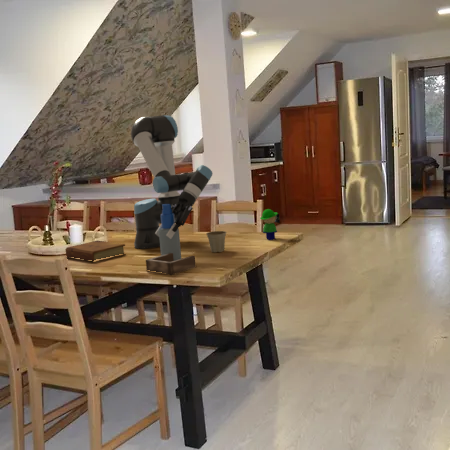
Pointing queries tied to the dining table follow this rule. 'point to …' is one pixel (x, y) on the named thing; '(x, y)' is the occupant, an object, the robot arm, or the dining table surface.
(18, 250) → the dining table surface
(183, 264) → the rest
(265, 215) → the toy
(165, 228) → the blue and grey bottle
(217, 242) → the flower pot
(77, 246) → the diary
